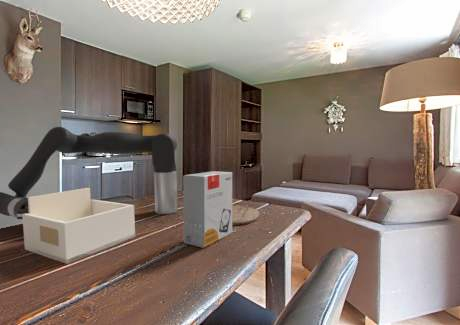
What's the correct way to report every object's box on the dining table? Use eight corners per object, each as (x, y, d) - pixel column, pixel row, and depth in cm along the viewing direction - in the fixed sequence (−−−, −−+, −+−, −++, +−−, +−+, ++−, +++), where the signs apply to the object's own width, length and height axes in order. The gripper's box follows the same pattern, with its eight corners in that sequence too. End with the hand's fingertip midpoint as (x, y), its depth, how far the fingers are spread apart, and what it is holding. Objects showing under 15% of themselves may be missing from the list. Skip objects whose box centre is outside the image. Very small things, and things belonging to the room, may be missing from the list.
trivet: (258, 209, 115) (258, 205, 115) (259, 228, 90) (259, 222, 90) (202, 209, 117) (202, 205, 117) (188, 226, 92) (188, 221, 92)
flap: (91, 223, 90) (90, 187, 89) (32, 240, 74) (29, 197, 73) (90, 223, 90) (88, 187, 89) (30, 240, 74) (27, 197, 73)
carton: (135, 236, 82) (134, 205, 81) (65, 264, 63) (63, 223, 63) (94, 227, 91) (93, 199, 91) (23, 249, 73) (21, 214, 72)
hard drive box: (203, 249, 72) (202, 176, 70) (182, 243, 76) (181, 175, 74) (233, 232, 85) (232, 171, 83) (214, 228, 89) (213, 170, 87)
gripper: (1, 201, 86) (28, 206, 78) (45, 194, 98) (73, 198, 90) (3, 223, 87) (30, 231, 79) (46, 214, 98) (74, 219, 90)
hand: (53, 213), depth 84 cm, fingers closed
